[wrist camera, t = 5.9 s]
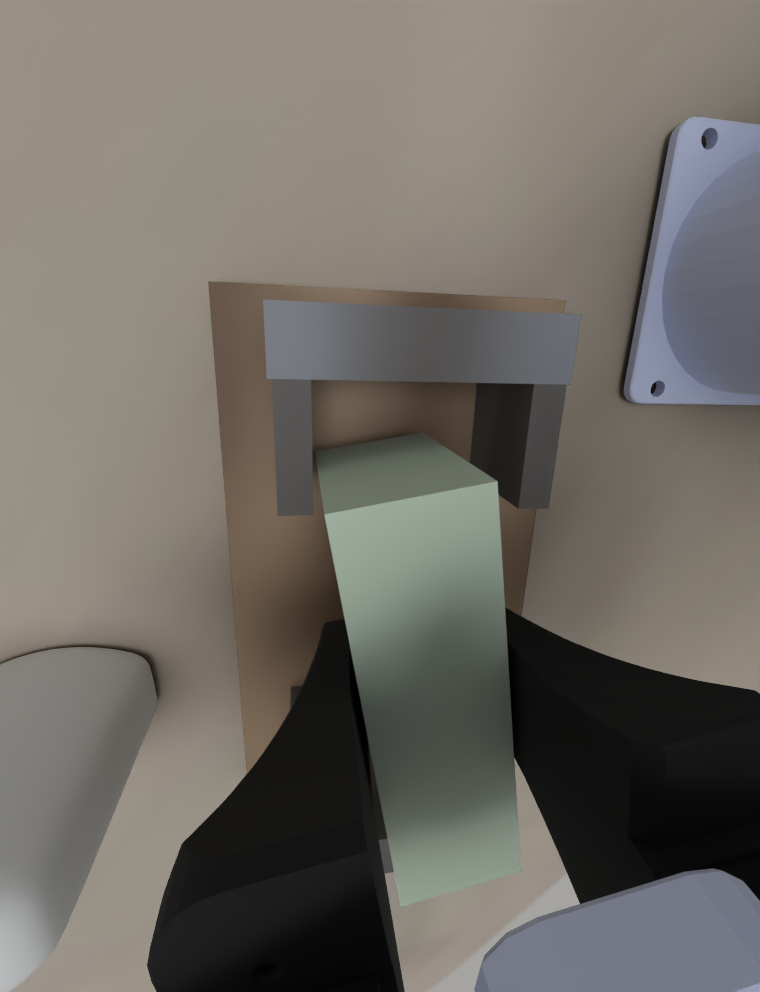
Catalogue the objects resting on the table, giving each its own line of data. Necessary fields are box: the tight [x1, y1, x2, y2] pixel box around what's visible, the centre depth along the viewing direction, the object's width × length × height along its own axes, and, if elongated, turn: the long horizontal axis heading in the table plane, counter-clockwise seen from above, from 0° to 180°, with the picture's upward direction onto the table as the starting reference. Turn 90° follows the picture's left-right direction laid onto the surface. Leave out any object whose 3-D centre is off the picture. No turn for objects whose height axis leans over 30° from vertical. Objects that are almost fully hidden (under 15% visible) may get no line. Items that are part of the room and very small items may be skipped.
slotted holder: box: [208, 281, 581, 873], centre depth 14 cm, size 10×18×4 cm, turn 179°
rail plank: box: [315, 433, 521, 907], centre depth 12 cm, size 3×10×5 cm, turn 8°
